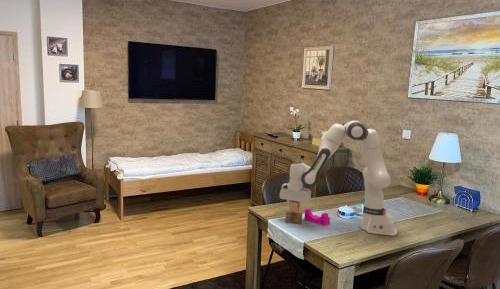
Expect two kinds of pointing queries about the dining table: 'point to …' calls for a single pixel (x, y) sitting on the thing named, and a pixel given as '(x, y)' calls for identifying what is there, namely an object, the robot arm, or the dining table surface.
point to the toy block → (316, 217)
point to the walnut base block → (293, 217)
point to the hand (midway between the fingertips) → (294, 207)
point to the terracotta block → (294, 206)
